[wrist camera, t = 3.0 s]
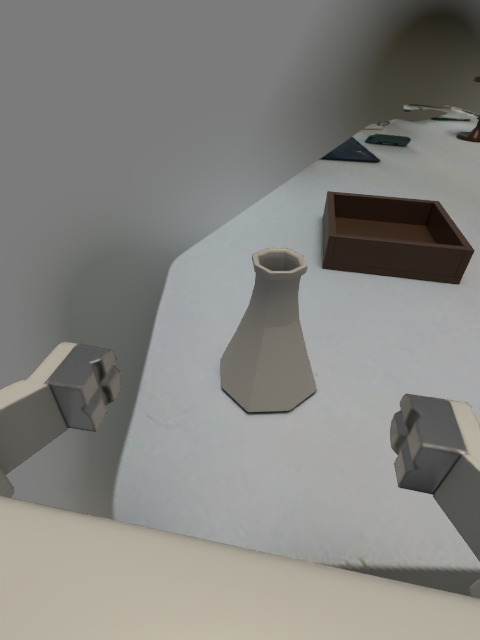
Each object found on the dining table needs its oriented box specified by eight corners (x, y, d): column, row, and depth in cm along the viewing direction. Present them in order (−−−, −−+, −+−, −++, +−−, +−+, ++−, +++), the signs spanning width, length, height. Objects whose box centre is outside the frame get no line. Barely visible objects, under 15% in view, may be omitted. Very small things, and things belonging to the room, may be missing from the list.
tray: (322, 268, 41) (328, 235, 38) (322, 219, 52) (327, 191, 50) (459, 284, 39) (475, 250, 37) (428, 229, 50) (438, 201, 48)
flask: (206, 357, 29) (201, 242, 23) (285, 336, 31) (301, 227, 25) (240, 429, 24) (247, 305, 17) (333, 398, 26) (368, 278, 20)
